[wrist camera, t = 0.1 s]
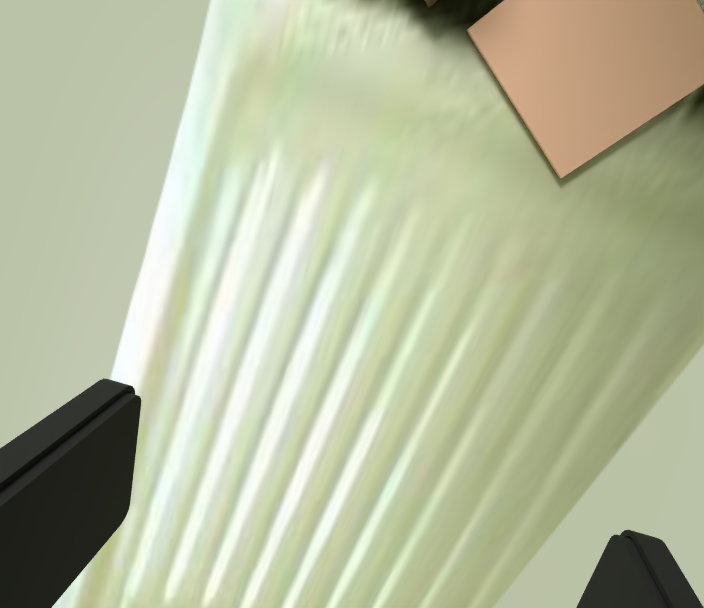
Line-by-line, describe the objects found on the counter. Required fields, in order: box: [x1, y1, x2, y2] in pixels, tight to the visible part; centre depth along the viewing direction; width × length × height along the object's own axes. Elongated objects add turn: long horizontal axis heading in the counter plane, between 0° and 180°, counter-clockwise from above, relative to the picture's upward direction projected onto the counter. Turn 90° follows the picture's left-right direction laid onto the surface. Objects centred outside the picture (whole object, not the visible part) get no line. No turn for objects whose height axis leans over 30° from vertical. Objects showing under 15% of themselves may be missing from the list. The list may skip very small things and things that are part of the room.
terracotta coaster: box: [467, 0, 704, 178], centre depth 34 cm, size 12×12×1 cm
